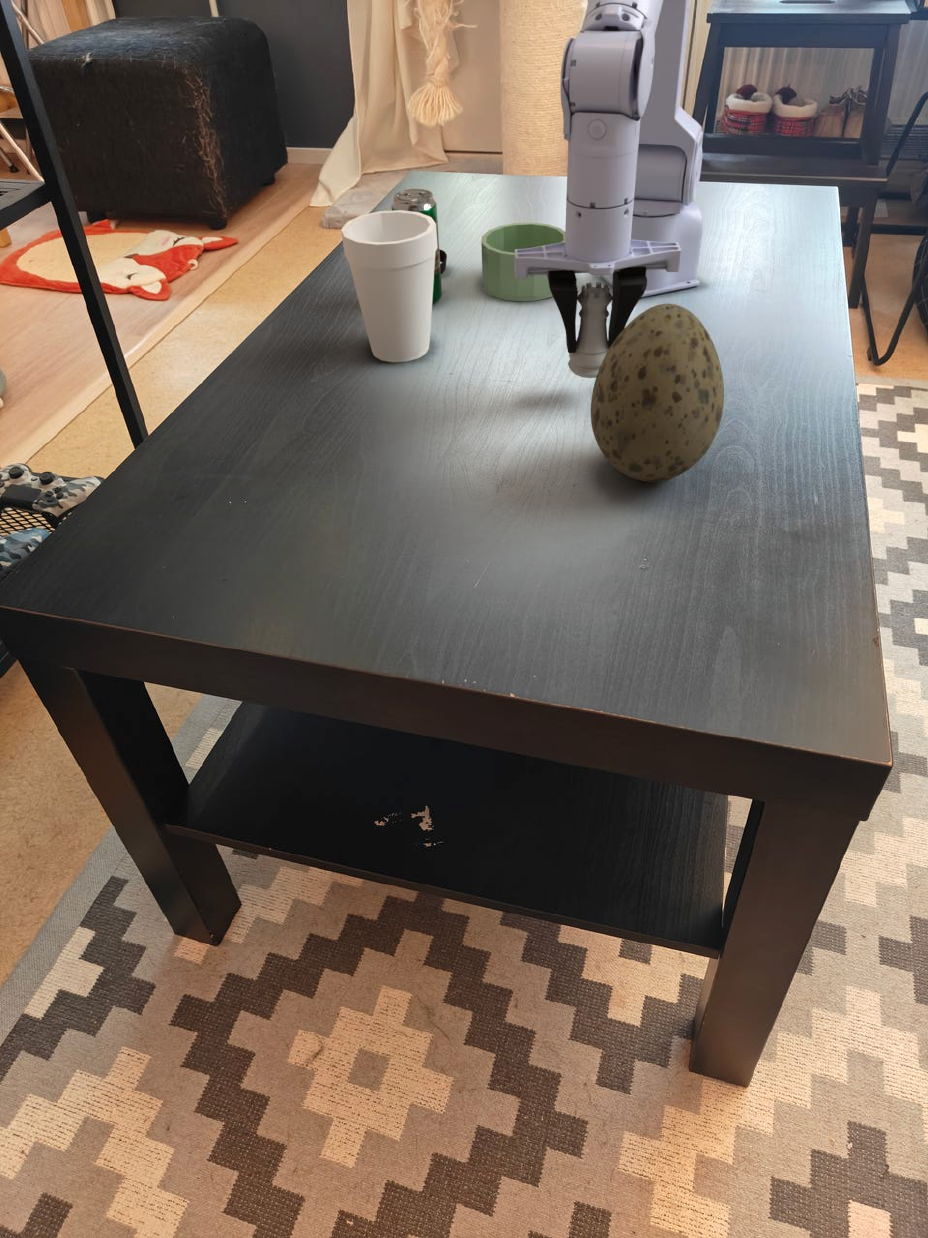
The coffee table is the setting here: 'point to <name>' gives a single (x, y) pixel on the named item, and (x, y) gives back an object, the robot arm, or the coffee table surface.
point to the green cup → (502, 260)
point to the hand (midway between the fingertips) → (591, 347)
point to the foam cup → (393, 279)
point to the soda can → (426, 205)
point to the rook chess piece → (591, 331)
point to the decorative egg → (658, 395)
